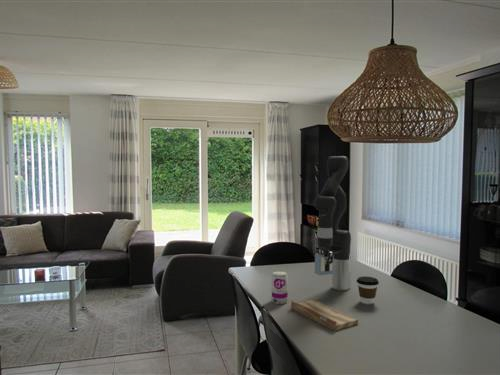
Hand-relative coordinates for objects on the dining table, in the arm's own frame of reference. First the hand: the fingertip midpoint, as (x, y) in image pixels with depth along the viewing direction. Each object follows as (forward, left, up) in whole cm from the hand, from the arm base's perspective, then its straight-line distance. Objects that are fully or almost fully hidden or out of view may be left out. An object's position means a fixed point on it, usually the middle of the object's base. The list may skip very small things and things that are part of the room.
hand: (324, 269), depth 198 cm
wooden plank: (+11, +11, -18) cm, 24 cm away
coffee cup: (-21, +9, -18) cm, 29 cm away
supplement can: (+17, -15, -18) cm, 29 cm away
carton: (0, 0, -2) cm, 2 cm away
